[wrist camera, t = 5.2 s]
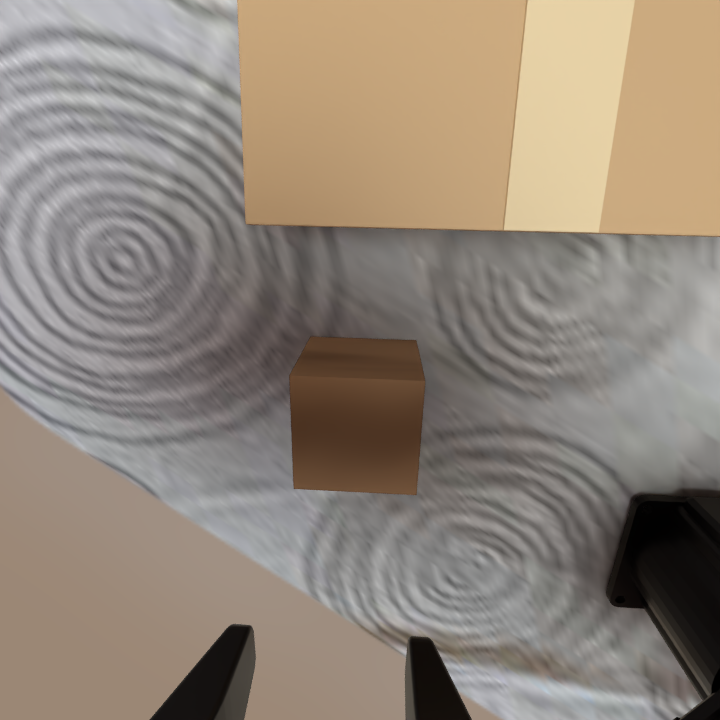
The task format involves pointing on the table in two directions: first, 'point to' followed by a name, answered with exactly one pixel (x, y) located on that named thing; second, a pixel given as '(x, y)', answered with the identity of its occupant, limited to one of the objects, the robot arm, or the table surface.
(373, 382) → the walnut block
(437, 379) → the table surface
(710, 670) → the robot arm
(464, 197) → the lid
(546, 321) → the table surface
